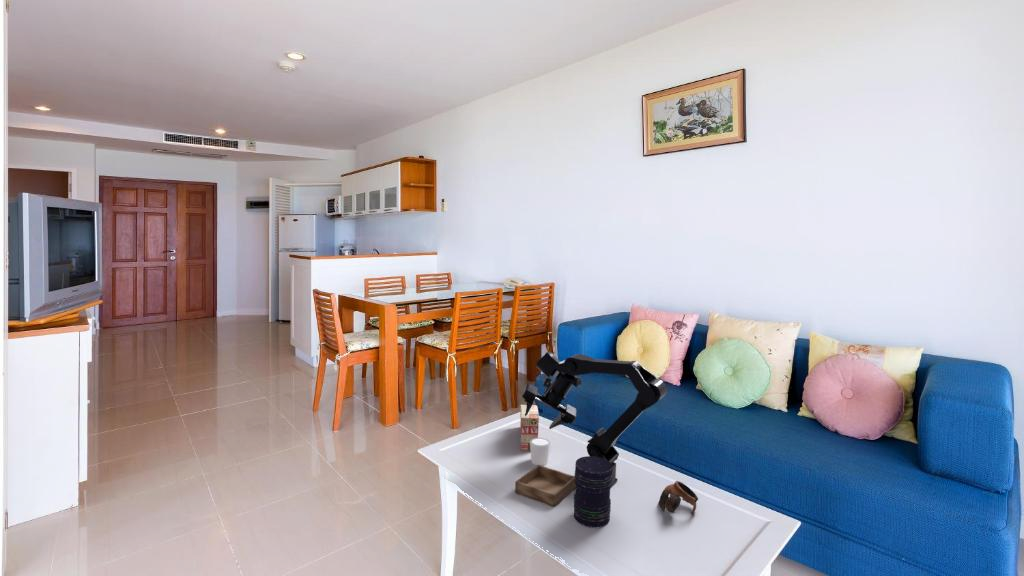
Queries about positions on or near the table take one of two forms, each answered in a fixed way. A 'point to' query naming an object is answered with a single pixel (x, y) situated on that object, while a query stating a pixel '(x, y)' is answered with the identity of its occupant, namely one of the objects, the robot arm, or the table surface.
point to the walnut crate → (545, 485)
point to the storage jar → (592, 491)
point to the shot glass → (539, 451)
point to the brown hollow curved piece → (676, 497)
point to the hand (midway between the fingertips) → (537, 421)
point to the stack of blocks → (528, 426)
